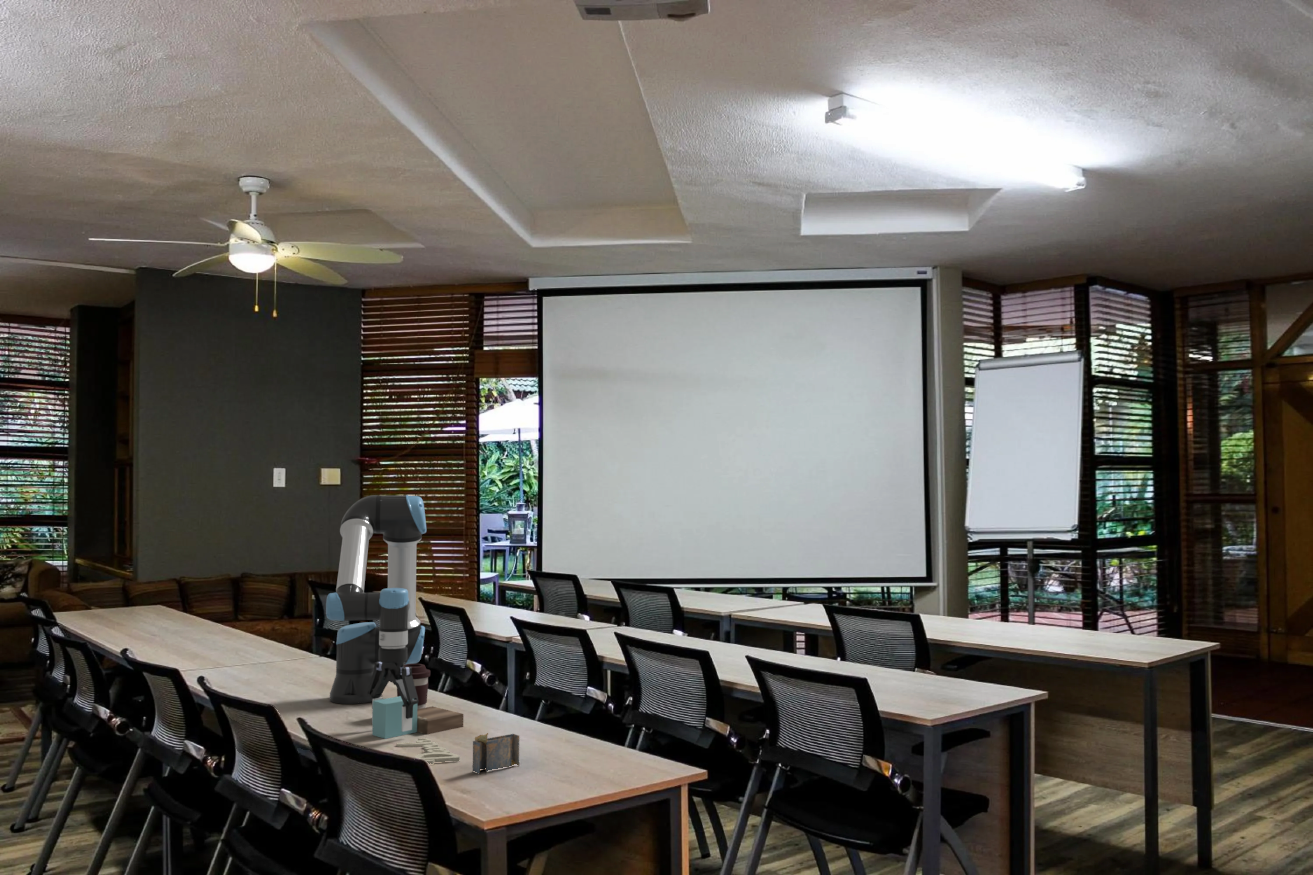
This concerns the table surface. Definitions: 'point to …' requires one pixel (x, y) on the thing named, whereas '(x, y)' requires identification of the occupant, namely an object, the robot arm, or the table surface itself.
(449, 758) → the decorative sign
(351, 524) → the robot arm
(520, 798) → the table surface
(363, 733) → the table surface
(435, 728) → the brown block
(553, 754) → the table surface
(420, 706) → the coffee cup
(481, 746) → the rusty metal bracket
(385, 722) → the light teal block
